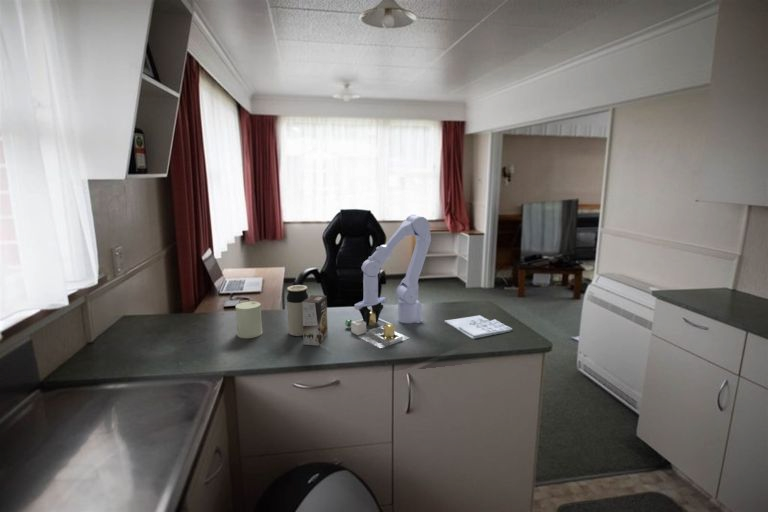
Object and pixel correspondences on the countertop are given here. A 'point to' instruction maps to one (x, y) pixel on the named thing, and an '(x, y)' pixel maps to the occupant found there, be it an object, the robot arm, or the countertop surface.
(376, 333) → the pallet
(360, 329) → the white block
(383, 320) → the tray
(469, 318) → the white printed book
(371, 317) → the cylinder
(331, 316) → the countertop surface
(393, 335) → the billet
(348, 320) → the knob
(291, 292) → the travel mug
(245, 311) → the can
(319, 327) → the coffee box
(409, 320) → the robot arm
